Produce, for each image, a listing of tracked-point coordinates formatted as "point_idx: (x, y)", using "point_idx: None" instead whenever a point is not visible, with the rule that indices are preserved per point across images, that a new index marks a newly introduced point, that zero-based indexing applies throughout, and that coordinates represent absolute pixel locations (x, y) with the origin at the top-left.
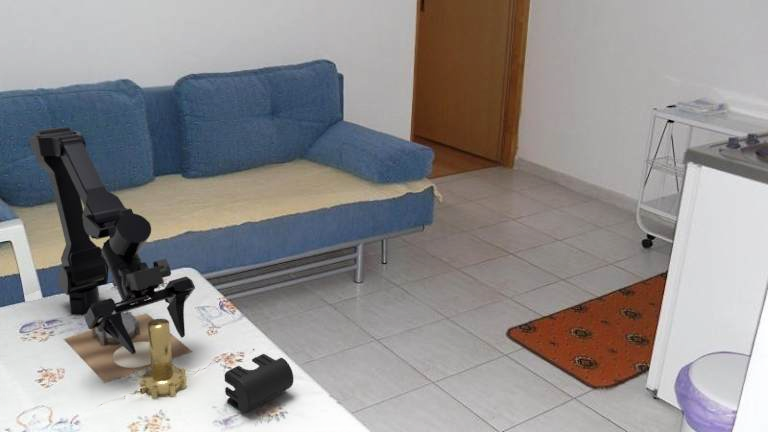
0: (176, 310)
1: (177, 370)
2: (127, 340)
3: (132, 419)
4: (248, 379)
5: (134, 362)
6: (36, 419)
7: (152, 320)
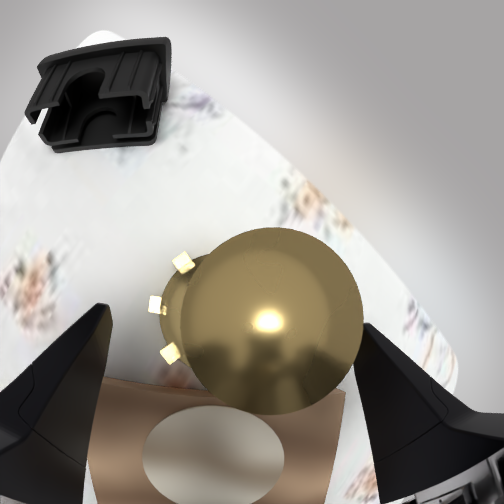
0: (40, 418)
1: (170, 309)
2: (405, 360)
3: (341, 239)
4: (145, 39)
5: (245, 436)
6: (441, 357)
7: (287, 409)
